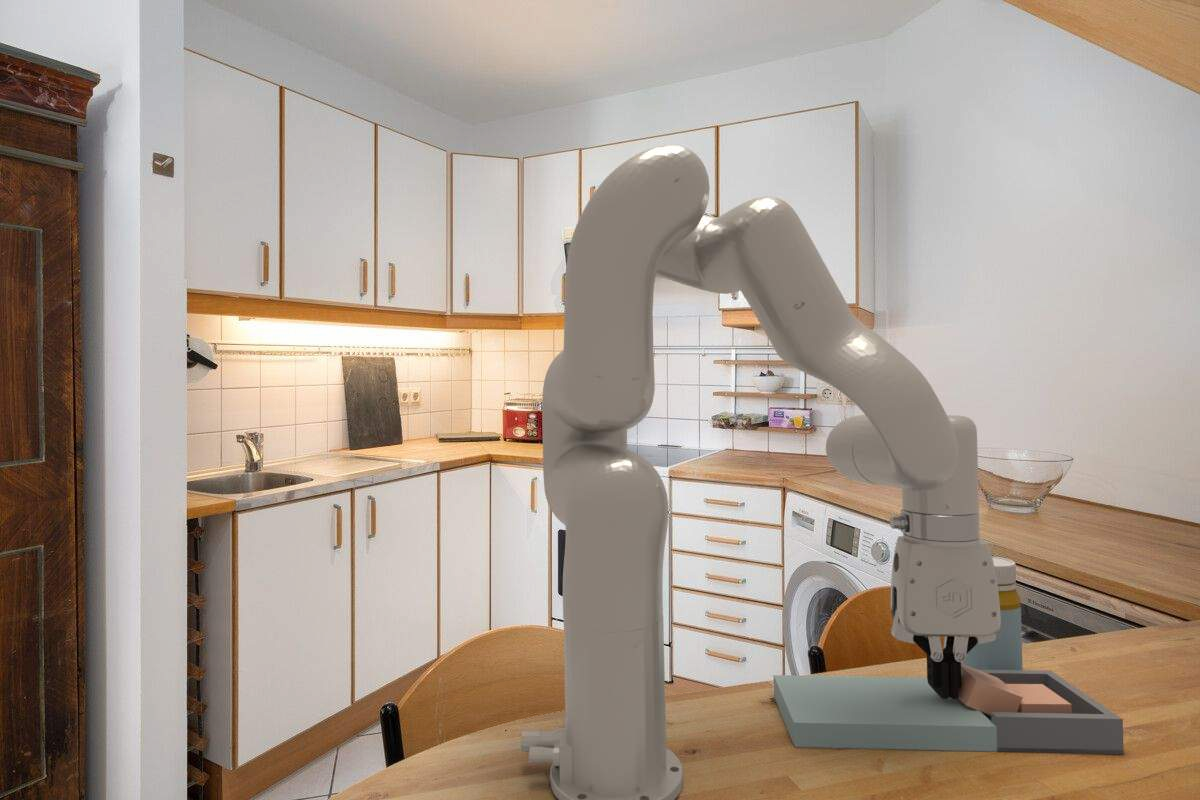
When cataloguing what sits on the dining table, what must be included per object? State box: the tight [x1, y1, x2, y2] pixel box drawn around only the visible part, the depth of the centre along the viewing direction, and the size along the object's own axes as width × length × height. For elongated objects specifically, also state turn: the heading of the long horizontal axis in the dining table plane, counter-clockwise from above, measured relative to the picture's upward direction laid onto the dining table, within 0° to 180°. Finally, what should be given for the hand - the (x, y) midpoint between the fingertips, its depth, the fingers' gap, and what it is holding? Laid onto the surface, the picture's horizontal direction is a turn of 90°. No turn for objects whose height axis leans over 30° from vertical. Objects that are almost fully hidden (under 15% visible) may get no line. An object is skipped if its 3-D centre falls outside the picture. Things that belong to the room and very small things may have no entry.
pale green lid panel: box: [772, 674, 997, 752], centre depth 73 cm, size 20×12×2 cm, turn 85°
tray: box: [979, 669, 1125, 755], centre depth 72 cm, size 12×12×4 cm
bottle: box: [961, 555, 1024, 670], centre depth 84 cm, size 7×7×15 cm
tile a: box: [958, 664, 1023, 715], centre depth 72 cm, size 5×5×3 cm
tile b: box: [1006, 684, 1072, 714], centre depth 72 cm, size 5×5×3 cm
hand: (944, 693), depth 73 cm, fingers closed
